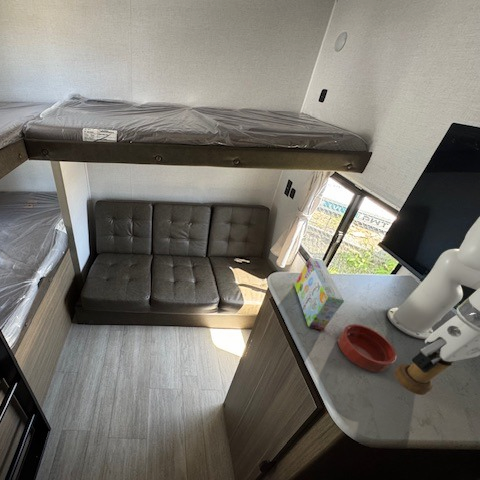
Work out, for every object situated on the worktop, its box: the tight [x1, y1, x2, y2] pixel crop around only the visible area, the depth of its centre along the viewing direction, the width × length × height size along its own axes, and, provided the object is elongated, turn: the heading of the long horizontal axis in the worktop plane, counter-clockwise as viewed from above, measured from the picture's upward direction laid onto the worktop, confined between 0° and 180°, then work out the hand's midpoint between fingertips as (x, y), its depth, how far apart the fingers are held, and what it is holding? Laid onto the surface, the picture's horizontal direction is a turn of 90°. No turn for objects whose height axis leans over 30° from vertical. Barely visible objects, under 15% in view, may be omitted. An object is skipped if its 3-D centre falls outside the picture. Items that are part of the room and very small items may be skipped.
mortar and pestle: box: [394, 349, 453, 396], centre depth 59 cm, size 7×6×18 cm
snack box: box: [294, 257, 345, 331], centre depth 91 cm, size 21×6×15 cm, turn 168°
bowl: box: [337, 323, 397, 373], centre depth 79 cm, size 13×13×5 cm
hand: (427, 364), depth 60 cm, fingers closed on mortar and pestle, 3 cm apart
